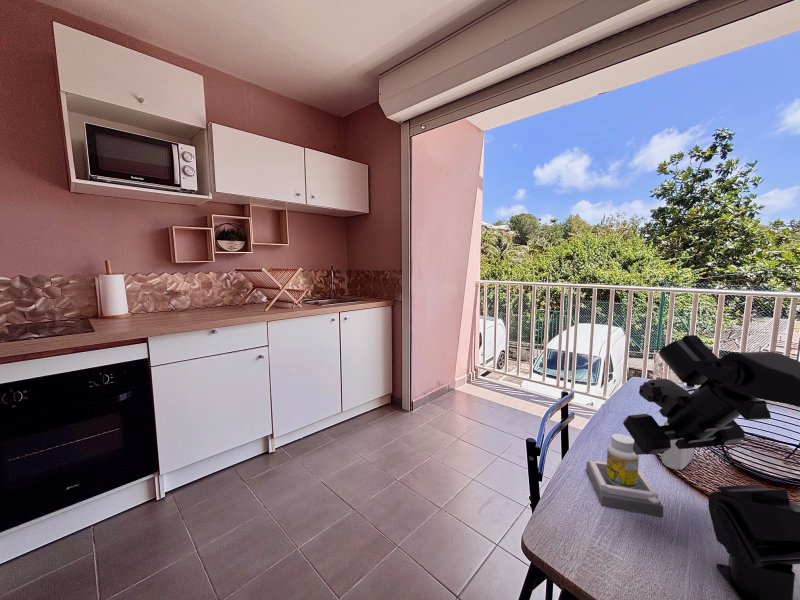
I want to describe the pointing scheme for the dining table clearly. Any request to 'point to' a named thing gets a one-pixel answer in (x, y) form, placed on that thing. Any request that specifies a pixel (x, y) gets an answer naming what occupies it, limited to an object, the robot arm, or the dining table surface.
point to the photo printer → (677, 455)
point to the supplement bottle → (622, 462)
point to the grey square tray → (624, 491)
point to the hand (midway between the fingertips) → (656, 449)
